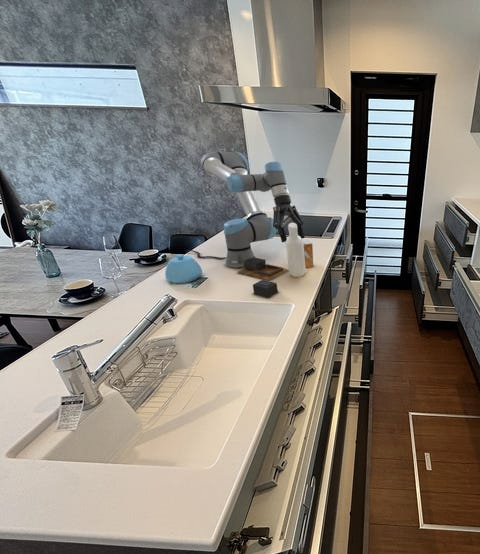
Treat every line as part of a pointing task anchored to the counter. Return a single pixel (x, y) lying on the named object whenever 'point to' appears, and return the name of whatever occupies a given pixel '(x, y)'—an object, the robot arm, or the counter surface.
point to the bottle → (295, 252)
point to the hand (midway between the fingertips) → (293, 240)
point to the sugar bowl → (182, 269)
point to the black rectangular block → (265, 288)
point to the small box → (308, 253)
